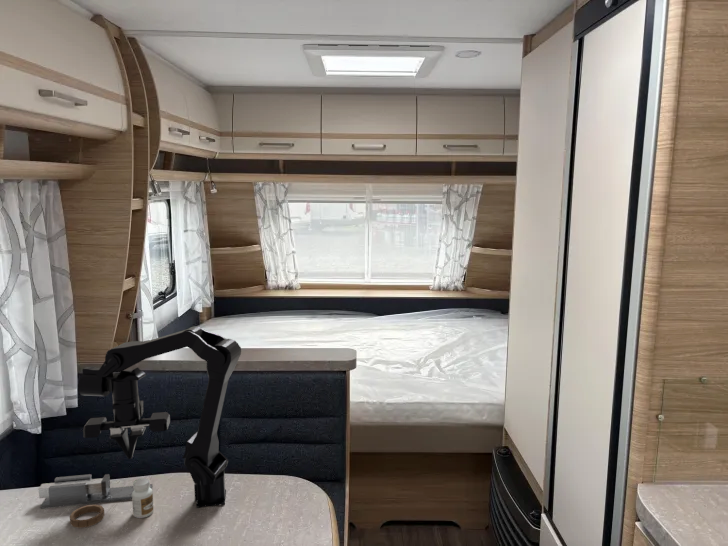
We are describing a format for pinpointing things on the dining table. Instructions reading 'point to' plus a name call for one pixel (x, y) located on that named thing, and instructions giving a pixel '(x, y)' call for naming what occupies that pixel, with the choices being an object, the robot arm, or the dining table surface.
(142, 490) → the pill bottle
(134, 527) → the dining table surface
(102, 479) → the grey long bar
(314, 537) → the dining table surface
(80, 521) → the bottle collar
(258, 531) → the dining table surface
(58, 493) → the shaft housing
